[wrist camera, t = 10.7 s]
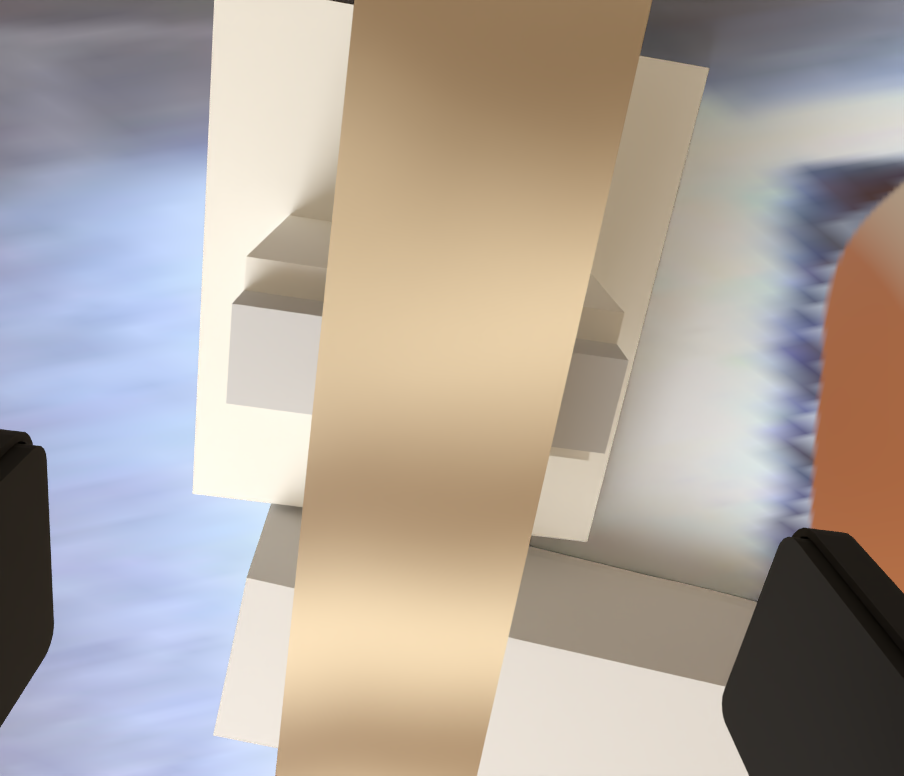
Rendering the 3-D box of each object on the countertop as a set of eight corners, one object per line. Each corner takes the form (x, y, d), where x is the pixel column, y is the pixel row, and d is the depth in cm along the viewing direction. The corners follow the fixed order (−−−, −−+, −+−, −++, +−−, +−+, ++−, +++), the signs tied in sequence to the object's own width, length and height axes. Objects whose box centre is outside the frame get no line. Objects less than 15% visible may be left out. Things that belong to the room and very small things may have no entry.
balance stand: (228, -14, 23) (117, -68, 14) (692, 68, 24) (829, 62, 16) (204, 473, 28) (114, 630, 20) (579, 520, 29) (636, 686, 21)
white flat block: (922, 779, 39) (1071, 669, 33) (968, 886, 35) (1146, 782, 29) (245, 631, 34) (281, 474, 29) (213, 735, 31) (246, 577, 25)
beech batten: (411, -281, 13) (402, -474, 9) (635, -234, 14) (741, -395, 9) (294, 762, 22) (257, 944, 17) (434, 775, 22) (435, 958, 18)
